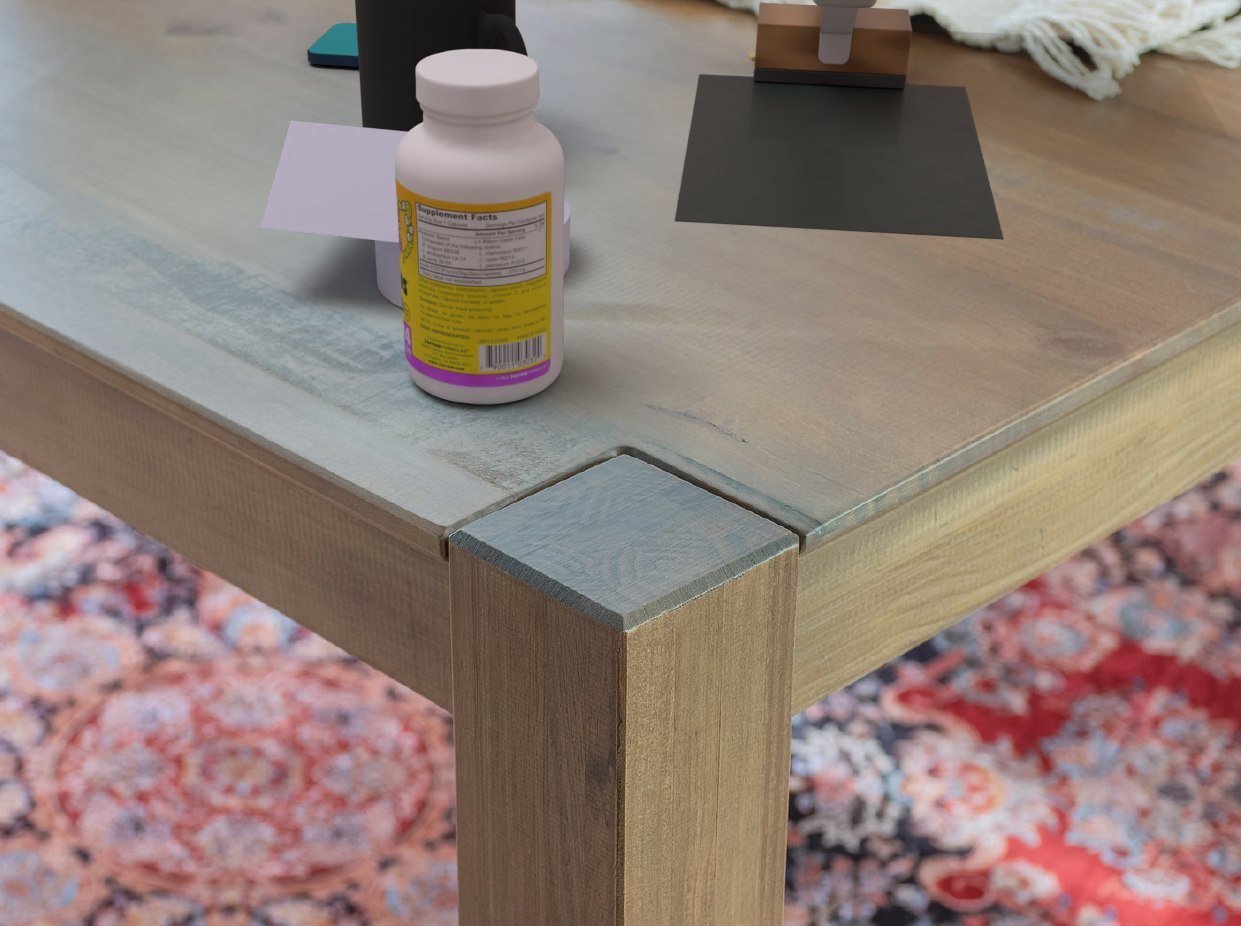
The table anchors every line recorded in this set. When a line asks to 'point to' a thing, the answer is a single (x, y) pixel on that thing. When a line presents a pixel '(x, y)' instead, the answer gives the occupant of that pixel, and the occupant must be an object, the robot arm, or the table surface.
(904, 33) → the eraser
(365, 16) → the mug
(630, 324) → the table surface
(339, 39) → the smartphone
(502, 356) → the supplement bottle
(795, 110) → the slate board
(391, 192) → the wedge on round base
